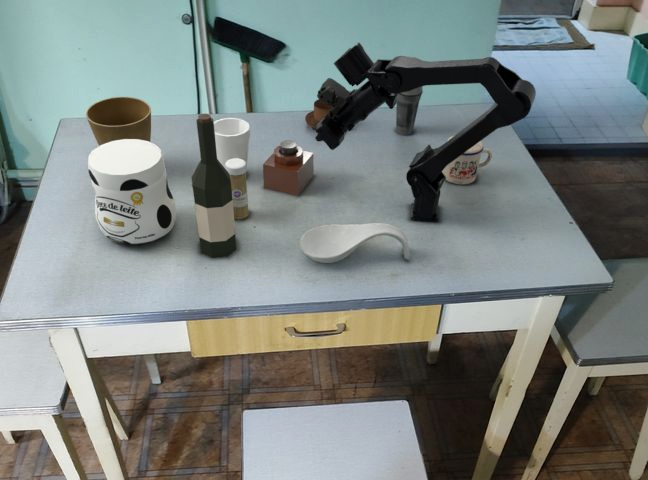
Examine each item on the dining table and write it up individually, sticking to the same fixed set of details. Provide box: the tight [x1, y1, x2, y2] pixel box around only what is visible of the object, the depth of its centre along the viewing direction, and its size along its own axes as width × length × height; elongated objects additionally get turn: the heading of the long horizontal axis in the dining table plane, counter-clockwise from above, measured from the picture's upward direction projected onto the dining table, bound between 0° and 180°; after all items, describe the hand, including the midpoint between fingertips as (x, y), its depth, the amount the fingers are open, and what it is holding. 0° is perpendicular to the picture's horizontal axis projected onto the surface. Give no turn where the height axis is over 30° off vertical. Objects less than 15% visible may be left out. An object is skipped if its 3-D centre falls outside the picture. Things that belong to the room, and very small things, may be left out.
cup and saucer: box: [304, 98, 333, 130], centre depth 187 cm, size 12×12×6 cm
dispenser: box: [262, 145, 314, 197], centre depth 164 cm, size 9×10×8 cm
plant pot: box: [85, 96, 152, 147], centre depth 163 cm, size 15×15×16 cm
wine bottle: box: [191, 113, 238, 259], centre depth 136 cm, size 8×8×30 cm
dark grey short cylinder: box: [279, 139, 298, 156], centre depth 160 cm, size 4×4×2 cm
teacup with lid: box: [442, 135, 493, 185], centre depth 167 cm, size 12×9×12 cm
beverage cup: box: [395, 86, 424, 136], centre depth 180 cm, size 7×7×20 cm
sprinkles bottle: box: [225, 158, 250, 220], centre depth 151 cm, size 5×5×14 cm
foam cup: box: [214, 117, 251, 173], centre depth 164 cm, size 10×9×13 cm
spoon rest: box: [299, 222, 411, 264], centre depth 143 cm, size 24×12×7 cm, turn 93°
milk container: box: [87, 139, 177, 246], centre depth 145 cm, size 17×17×18 cm
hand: (316, 139), depth 156 cm, fingers closed
